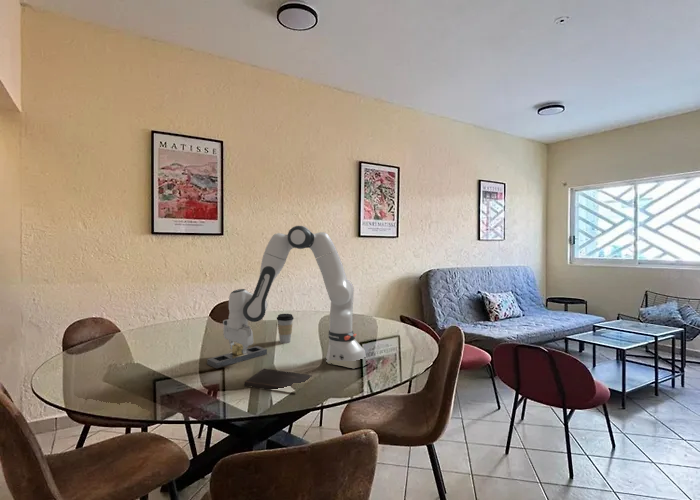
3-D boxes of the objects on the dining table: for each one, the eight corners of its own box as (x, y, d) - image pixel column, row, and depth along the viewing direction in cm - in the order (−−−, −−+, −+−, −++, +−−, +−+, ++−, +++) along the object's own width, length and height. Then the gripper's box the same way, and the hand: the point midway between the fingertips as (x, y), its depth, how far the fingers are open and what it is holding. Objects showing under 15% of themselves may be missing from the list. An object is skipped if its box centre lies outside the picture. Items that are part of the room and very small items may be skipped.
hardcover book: (263, 373, 178) (263, 368, 178) (312, 380, 171) (312, 375, 171) (244, 387, 163) (244, 381, 162) (296, 395, 156) (296, 389, 156)
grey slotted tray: (266, 354, 203) (266, 348, 202) (216, 368, 182) (216, 362, 181) (257, 350, 208) (257, 345, 208) (207, 364, 187) (207, 358, 187)
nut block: (244, 359, 195) (244, 344, 194) (237, 361, 192) (237, 346, 191) (239, 357, 198) (239, 343, 197) (232, 359, 195) (232, 344, 194)
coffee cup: (284, 345, 218) (284, 318, 217) (272, 342, 223) (272, 315, 222) (297, 341, 225) (297, 315, 224) (285, 338, 231) (285, 312, 230)
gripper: (256, 325, 189) (256, 354, 190) (232, 318, 203) (232, 345, 204) (245, 328, 184) (245, 357, 185) (221, 320, 198) (221, 348, 199)
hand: (238, 351), depth 195 cm, fingers open, 8 cm apart
